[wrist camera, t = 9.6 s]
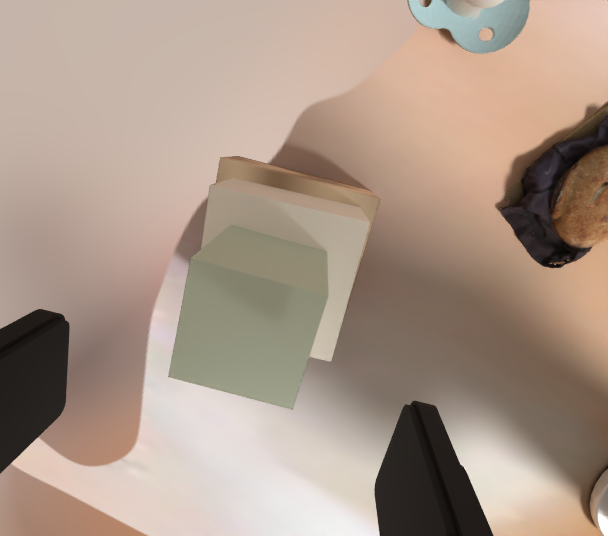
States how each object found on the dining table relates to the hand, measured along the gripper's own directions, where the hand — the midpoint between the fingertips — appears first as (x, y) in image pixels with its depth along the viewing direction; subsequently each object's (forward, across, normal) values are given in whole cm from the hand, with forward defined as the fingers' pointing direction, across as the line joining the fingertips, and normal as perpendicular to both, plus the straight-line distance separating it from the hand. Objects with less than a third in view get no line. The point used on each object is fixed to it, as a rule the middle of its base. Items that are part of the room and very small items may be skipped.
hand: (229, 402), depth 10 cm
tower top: (+15, 0, 0) cm, 15 cm away
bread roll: (+20, -19, -9) cm, 29 cm away
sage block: (+10, 0, 0) cm, 10 cm away
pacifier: (+20, -7, -18) cm, 28 cm away
